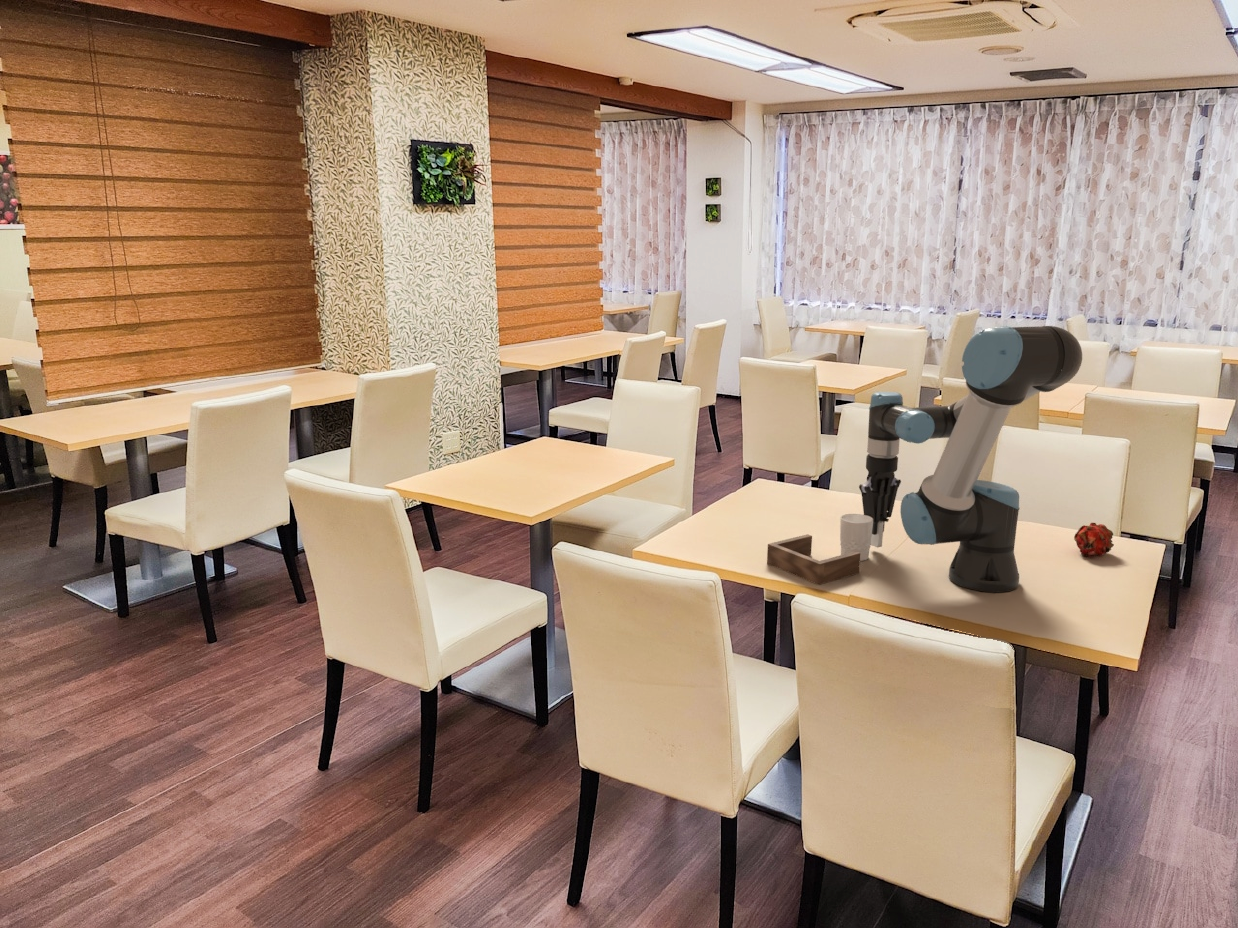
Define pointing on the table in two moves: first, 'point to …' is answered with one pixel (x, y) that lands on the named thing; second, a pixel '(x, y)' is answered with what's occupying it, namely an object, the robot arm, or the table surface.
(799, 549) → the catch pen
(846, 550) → the white cup
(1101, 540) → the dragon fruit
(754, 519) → the table surface
